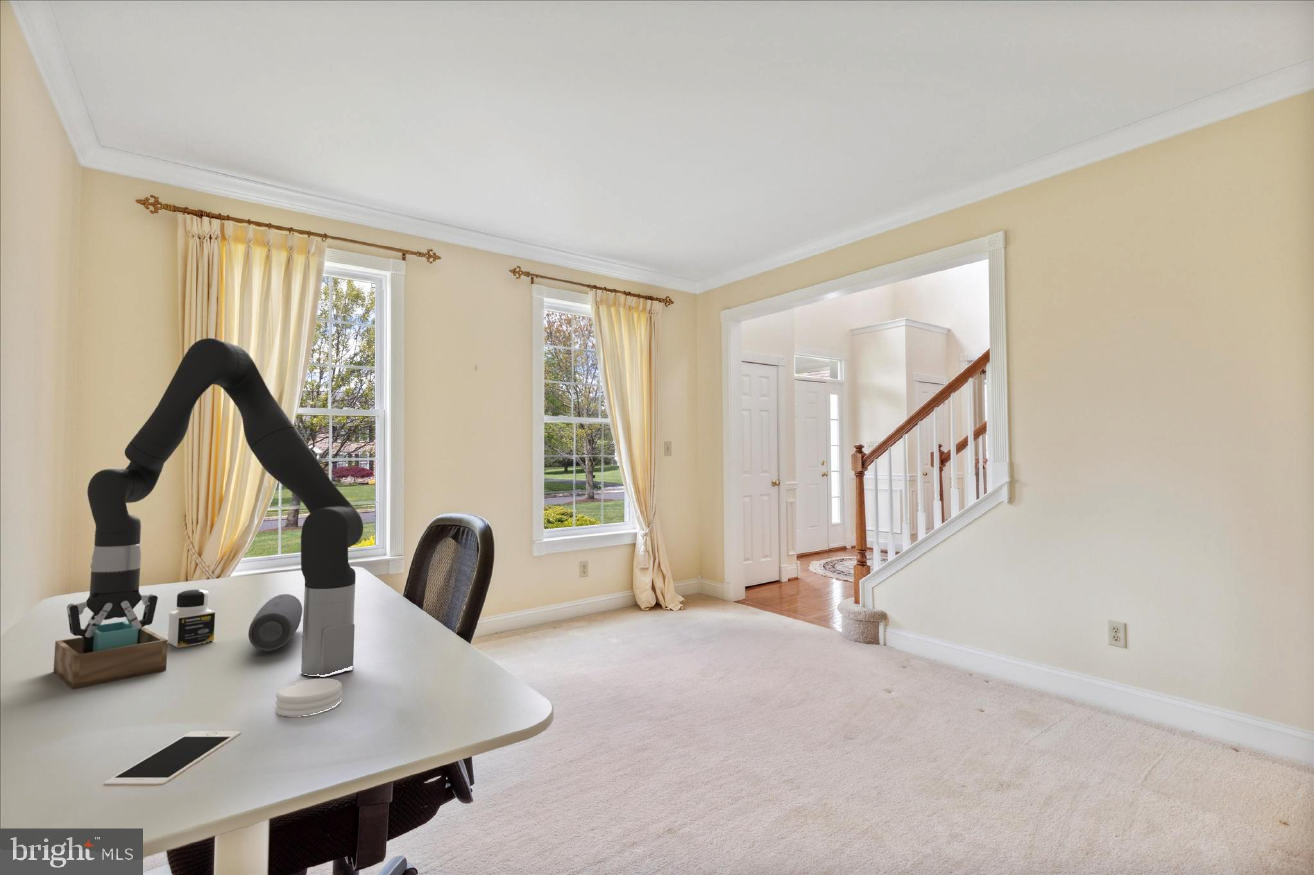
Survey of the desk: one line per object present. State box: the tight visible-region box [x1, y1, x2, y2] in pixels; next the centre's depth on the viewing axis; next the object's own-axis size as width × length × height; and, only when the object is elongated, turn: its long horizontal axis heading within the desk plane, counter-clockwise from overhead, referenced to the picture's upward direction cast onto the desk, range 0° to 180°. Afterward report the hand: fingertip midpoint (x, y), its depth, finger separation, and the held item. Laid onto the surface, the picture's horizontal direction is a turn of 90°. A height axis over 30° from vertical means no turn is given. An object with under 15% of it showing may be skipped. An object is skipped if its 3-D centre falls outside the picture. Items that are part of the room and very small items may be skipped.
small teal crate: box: [93, 620, 138, 652], centre depth 125 cm, size 9×6×6 cm, turn 53°
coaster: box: [275, 678, 343, 718], centre depth 107 cm, size 10×10×4 cm
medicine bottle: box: [167, 588, 216, 649], centre depth 145 cm, size 7×7×12 cm
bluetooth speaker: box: [247, 593, 303, 652], centre depth 145 cm, size 23×9×10 cm, turn 25°
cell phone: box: [103, 730, 242, 786], centre depth 88 cm, size 8×16×1 cm, turn 2°
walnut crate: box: [53, 626, 169, 690], centre depth 124 cm, size 16×14×6 cm
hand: (111, 651), depth 124 cm, fingers closed on small teal crate, 6 cm apart
